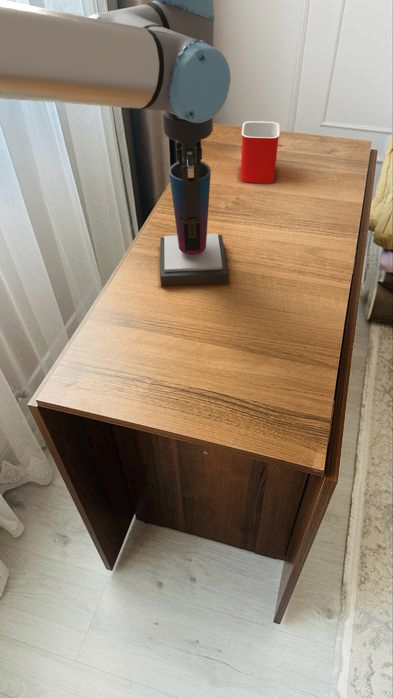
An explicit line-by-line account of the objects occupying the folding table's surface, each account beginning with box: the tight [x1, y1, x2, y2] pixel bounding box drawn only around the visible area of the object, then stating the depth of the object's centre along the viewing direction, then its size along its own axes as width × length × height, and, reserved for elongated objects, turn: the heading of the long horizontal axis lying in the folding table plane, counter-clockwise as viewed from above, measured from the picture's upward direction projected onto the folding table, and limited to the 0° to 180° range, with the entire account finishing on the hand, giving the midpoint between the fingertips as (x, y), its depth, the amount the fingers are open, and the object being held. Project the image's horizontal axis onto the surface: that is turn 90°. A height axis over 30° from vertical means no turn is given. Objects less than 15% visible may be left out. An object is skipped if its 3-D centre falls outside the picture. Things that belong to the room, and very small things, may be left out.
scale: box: [159, 233, 228, 288], centre depth 94 cm, size 12×12×3 cm
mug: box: [239, 120, 281, 184], centre depth 115 cm, size 12×8×11 cm
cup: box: [168, 161, 212, 255], centre depth 86 cm, size 7×7×15 cm
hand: (191, 238), depth 90 cm, fingers closed on cup, 6 cm apart
